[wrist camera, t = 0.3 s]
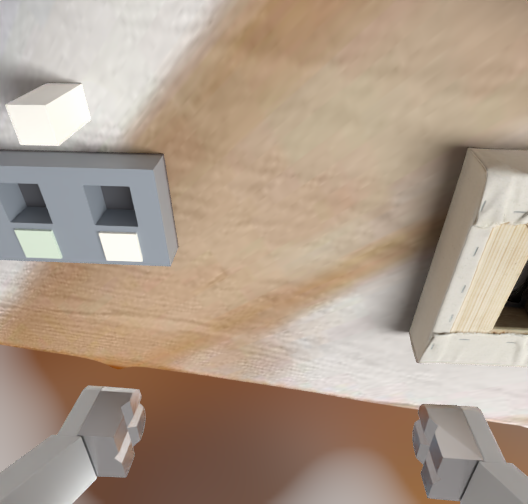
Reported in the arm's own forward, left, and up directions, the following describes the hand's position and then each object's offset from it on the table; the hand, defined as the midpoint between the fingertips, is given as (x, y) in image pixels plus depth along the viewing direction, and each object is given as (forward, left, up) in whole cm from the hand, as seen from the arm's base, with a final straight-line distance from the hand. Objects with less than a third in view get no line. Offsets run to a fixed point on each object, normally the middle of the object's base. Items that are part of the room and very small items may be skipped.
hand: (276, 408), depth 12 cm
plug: (+3, -25, -39) cm, 46 cm away
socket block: (+16, -32, -38) cm, 52 cm away
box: (+23, +32, -39) cm, 56 cm away
